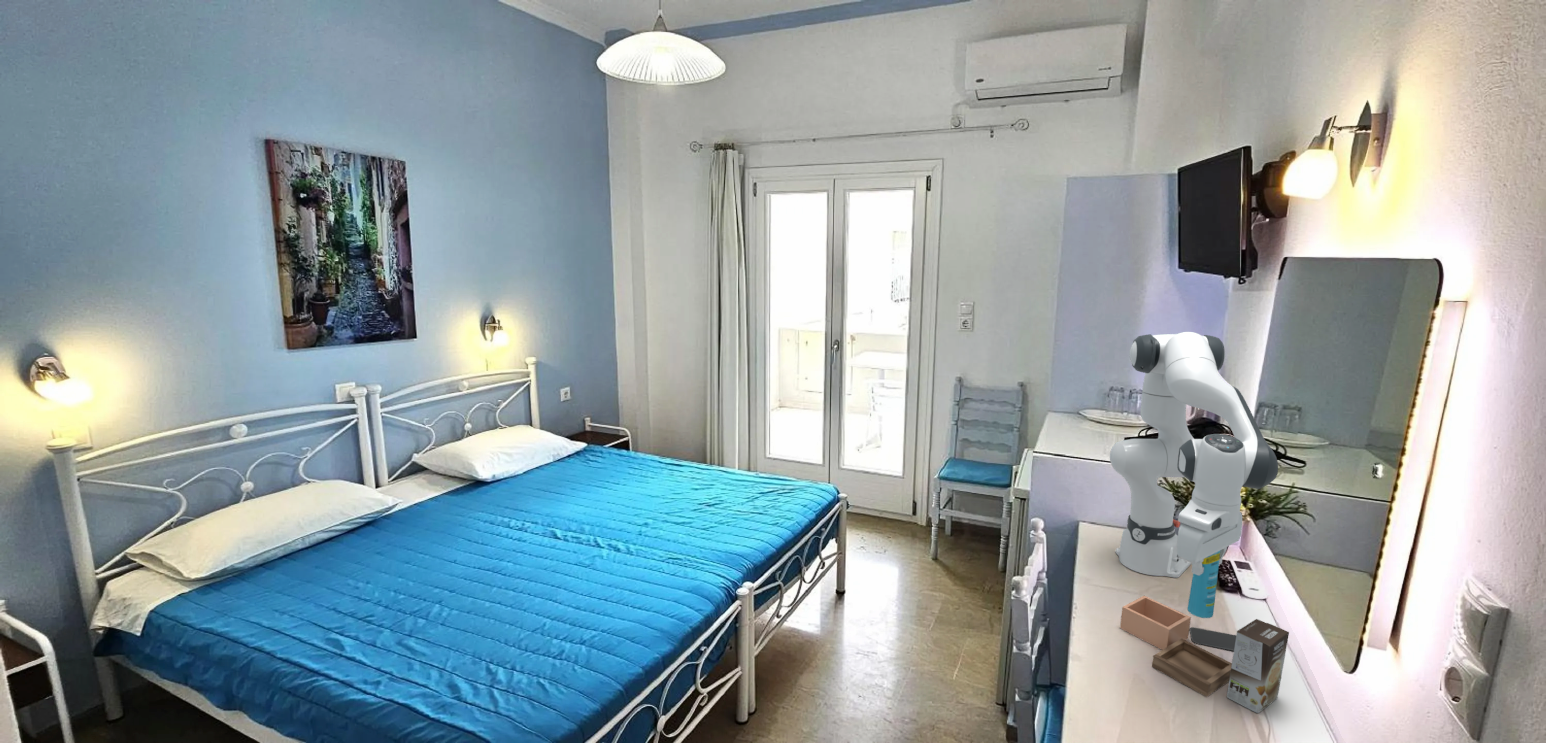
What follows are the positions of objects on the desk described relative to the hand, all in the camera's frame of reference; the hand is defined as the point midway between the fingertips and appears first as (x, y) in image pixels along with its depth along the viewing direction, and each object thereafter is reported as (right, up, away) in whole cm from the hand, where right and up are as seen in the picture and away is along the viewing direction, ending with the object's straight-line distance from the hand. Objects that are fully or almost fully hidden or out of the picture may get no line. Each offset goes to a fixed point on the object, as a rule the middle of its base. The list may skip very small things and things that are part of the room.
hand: (1206, 568), depth 148 cm
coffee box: (+8, -27, -3) cm, 29 cm away
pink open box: (0, -22, +20) cm, 30 cm away
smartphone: (+15, -23, +16) cm, 32 cm away
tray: (0, -25, +6) cm, 26 cm away
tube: (0, -11, +2) cm, 11 cm away
